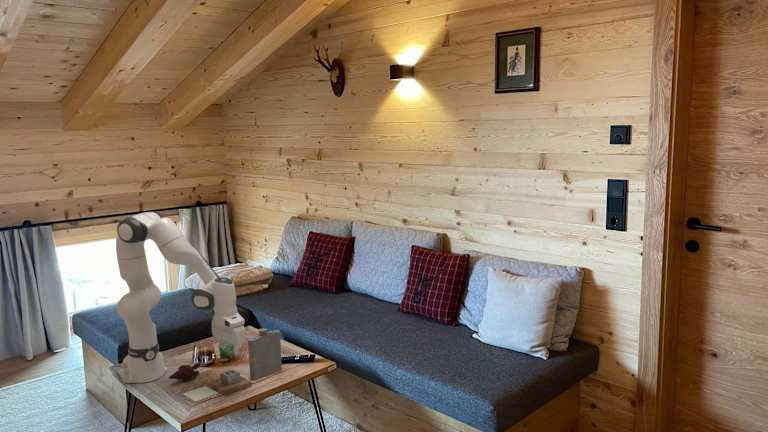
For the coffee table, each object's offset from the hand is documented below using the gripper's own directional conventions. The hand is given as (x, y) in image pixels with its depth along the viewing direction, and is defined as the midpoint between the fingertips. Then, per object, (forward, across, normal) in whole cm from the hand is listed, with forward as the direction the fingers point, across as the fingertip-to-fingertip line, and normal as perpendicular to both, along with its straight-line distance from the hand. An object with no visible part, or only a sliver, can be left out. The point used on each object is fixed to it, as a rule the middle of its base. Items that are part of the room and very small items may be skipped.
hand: (229, 350), depth 246 cm
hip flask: (+16, 0, +17) cm, 23 cm away
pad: (+15, -4, -12) cm, 20 cm away
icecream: (+16, -21, -10) cm, 28 cm away
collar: (+14, 0, 0) cm, 14 cm away
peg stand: (+16, 0, 0) cm, 16 cm away
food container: (+16, -28, +16) cm, 35 cm away
